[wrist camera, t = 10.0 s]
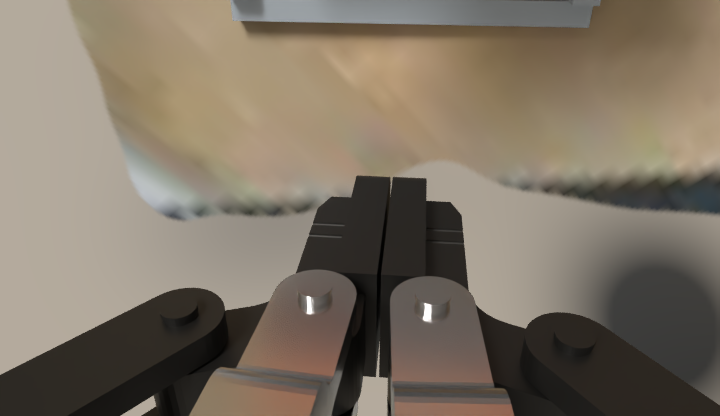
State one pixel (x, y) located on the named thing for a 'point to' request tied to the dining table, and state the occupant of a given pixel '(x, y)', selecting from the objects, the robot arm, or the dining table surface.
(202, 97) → the dining table surface
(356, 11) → the vise body
